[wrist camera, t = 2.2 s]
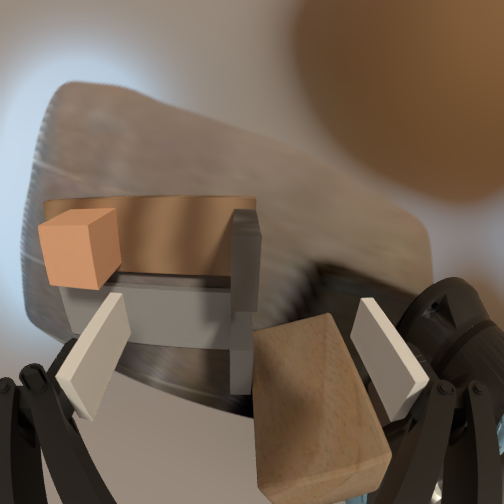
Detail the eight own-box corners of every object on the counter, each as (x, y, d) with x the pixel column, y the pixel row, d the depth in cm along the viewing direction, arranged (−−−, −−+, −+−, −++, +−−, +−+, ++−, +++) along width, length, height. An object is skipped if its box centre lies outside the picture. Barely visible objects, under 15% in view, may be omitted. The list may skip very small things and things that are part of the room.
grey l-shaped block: (250, 288, 31) (254, 342, 22) (247, 344, 34) (250, 400, 25) (61, 278, 29) (22, 315, 21) (76, 329, 32) (47, 371, 24)
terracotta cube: (115, 208, 26) (87, 225, 20) (121, 263, 28) (98, 290, 22) (69, 209, 25) (37, 226, 20) (77, 260, 28) (50, 285, 22)
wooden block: (266, 382, 36) (279, 514, 18) (248, 330, 33) (256, 490, 14) (336, 365, 36) (379, 490, 17) (330, 310, 32) (395, 456, 14)
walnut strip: (255, 197, 27) (262, 222, 19) (251, 272, 30) (255, 322, 22) (48, 200, 26) (-2, 222, 17) (58, 263, 29) (17, 299, 20)
